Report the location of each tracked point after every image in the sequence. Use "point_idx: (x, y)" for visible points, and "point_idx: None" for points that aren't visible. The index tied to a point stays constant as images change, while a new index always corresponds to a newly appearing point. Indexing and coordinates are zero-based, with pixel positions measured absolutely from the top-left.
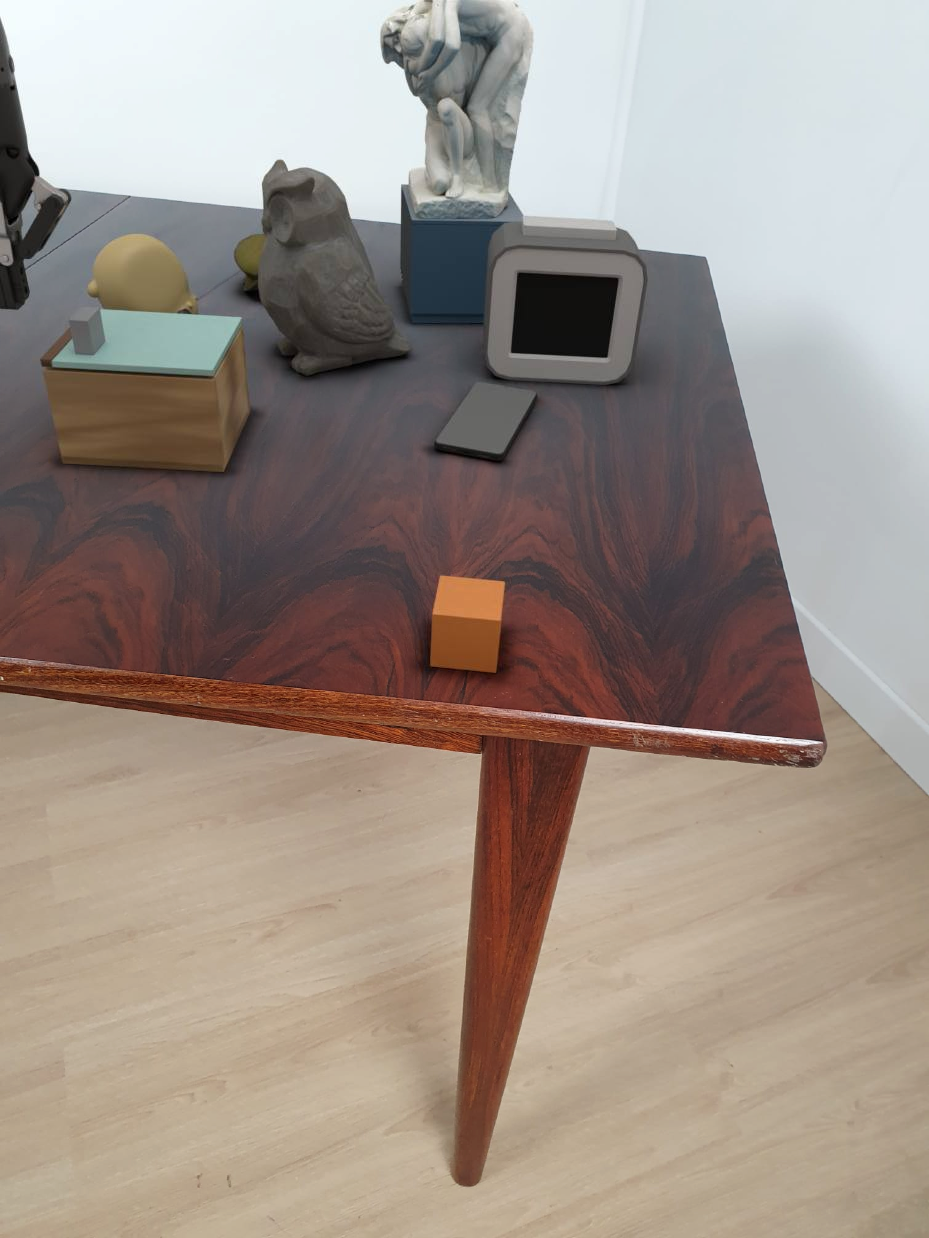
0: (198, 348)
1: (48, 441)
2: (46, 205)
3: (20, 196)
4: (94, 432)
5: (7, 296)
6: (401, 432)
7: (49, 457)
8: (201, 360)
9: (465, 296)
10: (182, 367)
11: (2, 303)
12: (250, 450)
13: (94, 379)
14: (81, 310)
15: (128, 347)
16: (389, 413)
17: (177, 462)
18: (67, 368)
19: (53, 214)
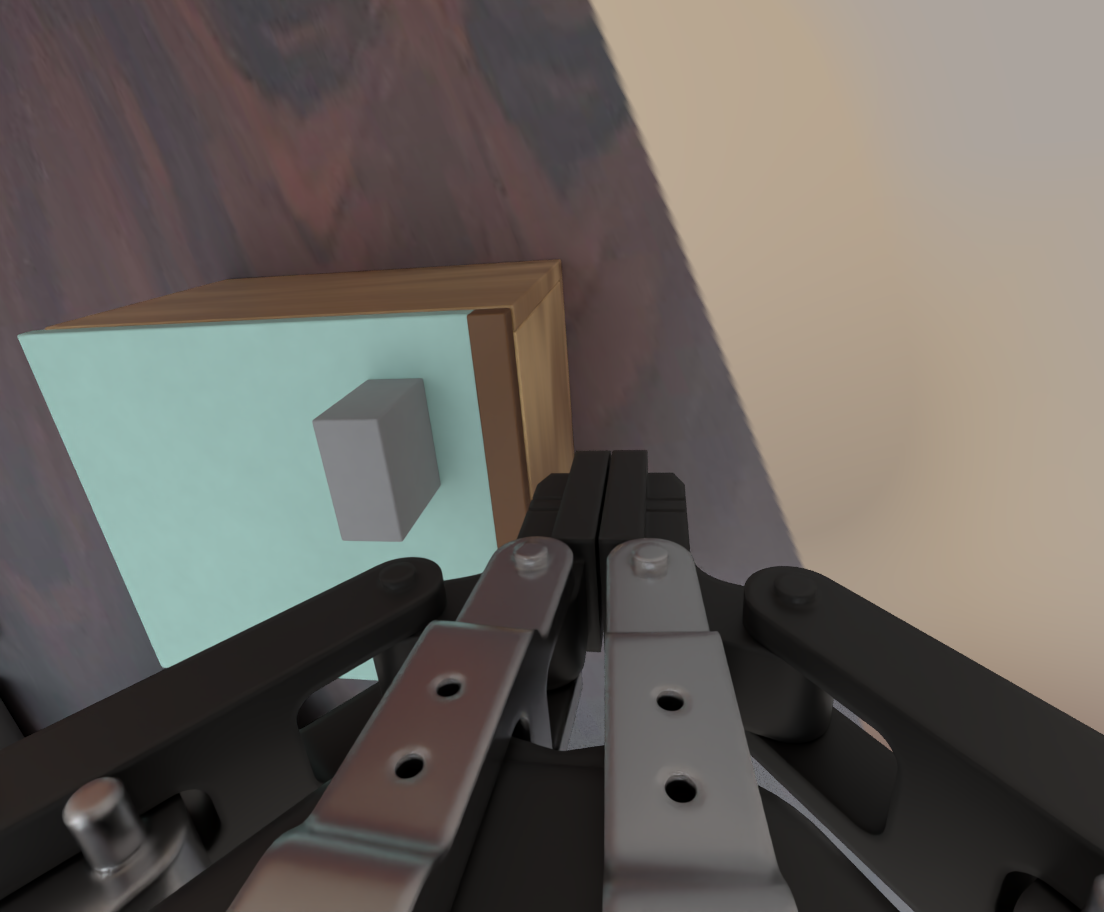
0: (135, 471)
1: (634, 359)
2: (12, 810)
3: (165, 904)
4: (451, 277)
5: (594, 470)
6: (25, 485)
7: (603, 285)
8: (79, 393)
9: None
10: (95, 337)
11: (623, 454)
12: None
13: (367, 308)
14: (380, 507)
15: (306, 451)
16: (79, 550)
17: (304, 276)
18: None
19: (37, 748)
